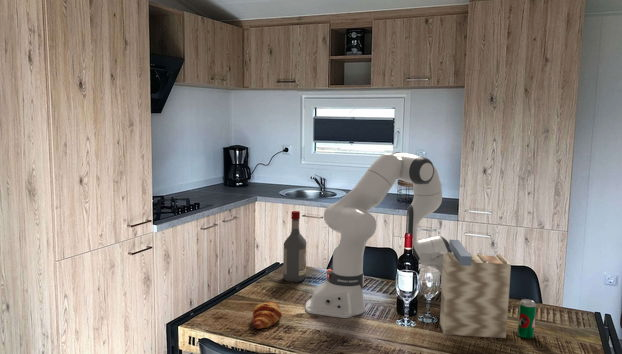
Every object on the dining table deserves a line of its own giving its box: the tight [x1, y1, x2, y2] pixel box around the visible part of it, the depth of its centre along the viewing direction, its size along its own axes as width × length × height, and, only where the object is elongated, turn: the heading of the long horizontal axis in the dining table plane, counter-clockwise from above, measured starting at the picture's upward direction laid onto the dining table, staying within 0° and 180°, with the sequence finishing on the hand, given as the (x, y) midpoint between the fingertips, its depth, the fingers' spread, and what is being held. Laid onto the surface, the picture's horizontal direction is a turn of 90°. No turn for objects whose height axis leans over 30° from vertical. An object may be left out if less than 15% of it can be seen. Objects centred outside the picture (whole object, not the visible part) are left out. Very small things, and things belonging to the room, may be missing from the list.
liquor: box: [282, 210, 307, 283], centre depth 219 cm, size 9×9×30 cm
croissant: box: [252, 301, 283, 330], centre depth 175 cm, size 21×10×8 cm, turn 167°
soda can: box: [517, 298, 537, 340], centre depth 166 cm, size 5×5×12 cm
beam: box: [448, 239, 472, 266], centre depth 170 cm, size 3×22×3 cm, turn 174°
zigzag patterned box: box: [439, 252, 512, 339], centre depth 169 cm, size 20×9×26 cm, turn 84°
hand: (450, 254), depth 186 cm, fingers open, 8 cm apart
